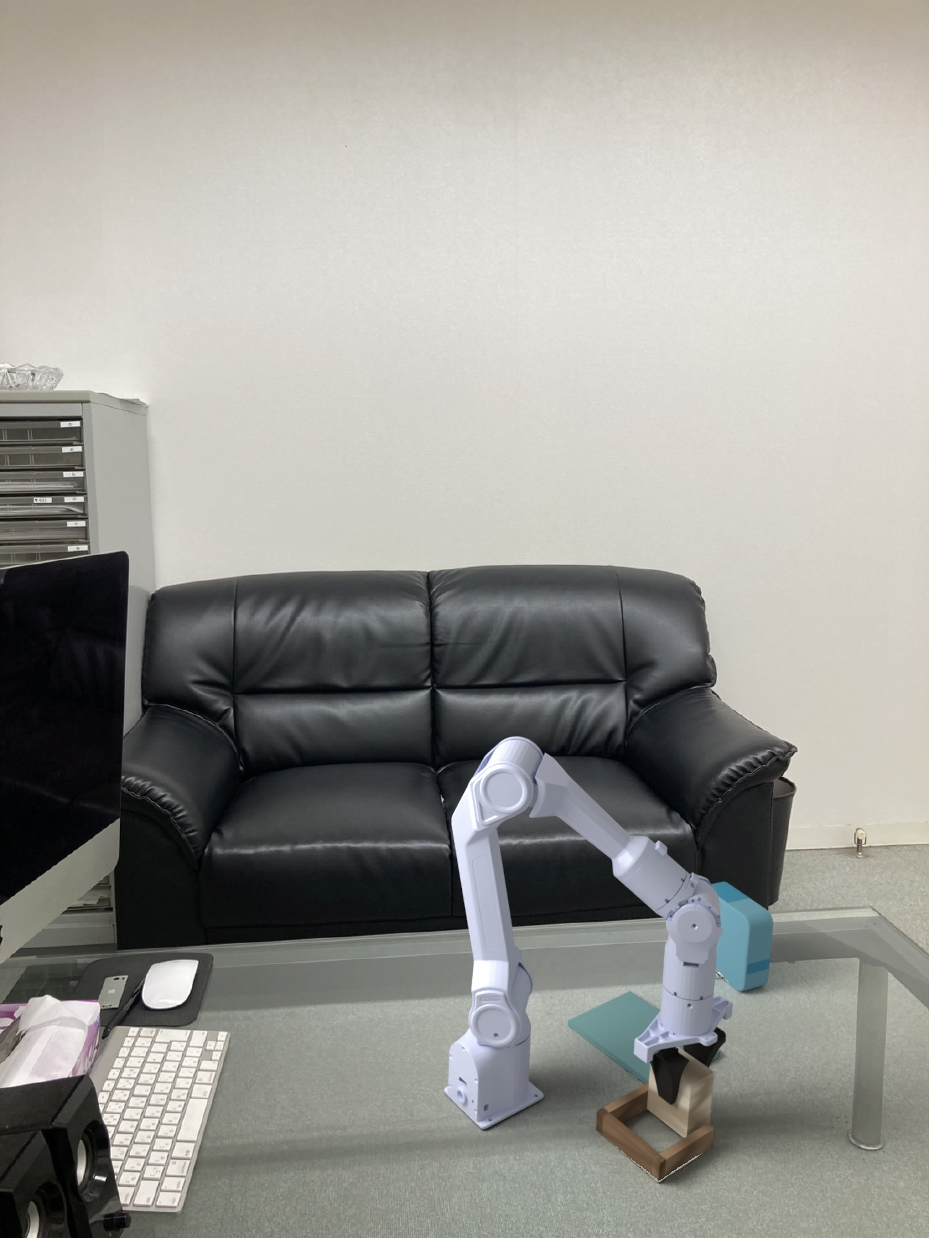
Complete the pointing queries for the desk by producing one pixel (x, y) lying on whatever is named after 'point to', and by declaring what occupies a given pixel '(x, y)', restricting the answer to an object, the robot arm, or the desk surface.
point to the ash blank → (685, 1098)
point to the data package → (743, 939)
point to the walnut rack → (640, 1151)
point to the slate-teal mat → (619, 1030)
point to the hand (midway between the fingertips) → (679, 1090)
